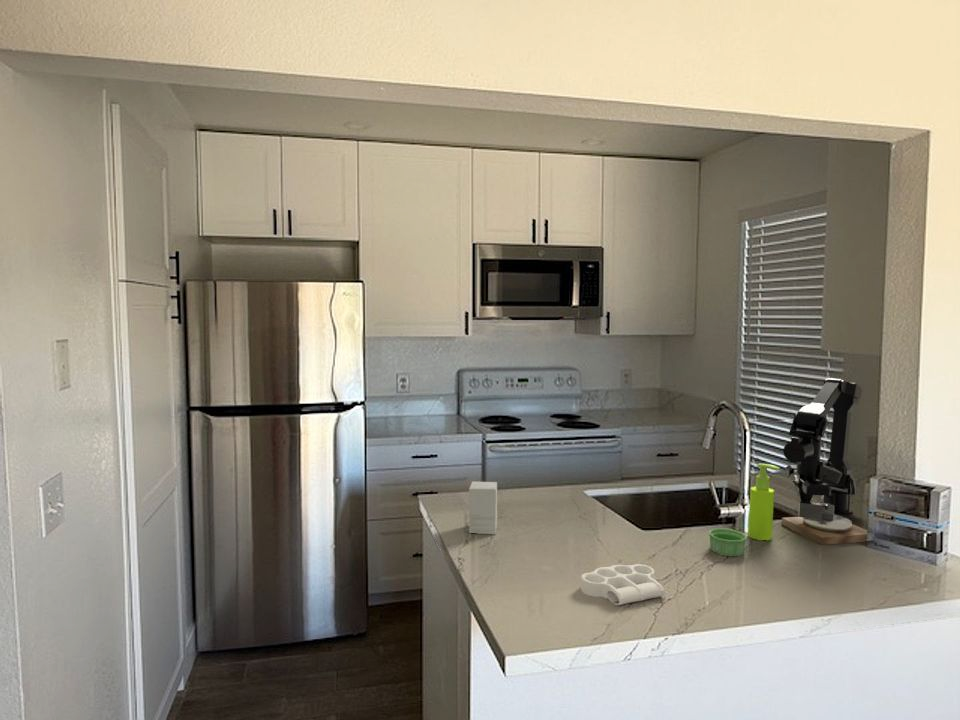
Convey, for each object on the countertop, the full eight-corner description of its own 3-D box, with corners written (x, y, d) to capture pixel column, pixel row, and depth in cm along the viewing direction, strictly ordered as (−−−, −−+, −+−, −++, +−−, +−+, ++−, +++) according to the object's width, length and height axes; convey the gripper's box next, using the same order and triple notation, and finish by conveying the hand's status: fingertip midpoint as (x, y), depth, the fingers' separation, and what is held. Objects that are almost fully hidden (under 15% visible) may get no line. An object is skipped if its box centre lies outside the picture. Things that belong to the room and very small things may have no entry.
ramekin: (749, 559, 163) (749, 542, 163) (710, 556, 165) (711, 538, 164) (742, 546, 172) (743, 529, 171) (706, 543, 174) (706, 527, 173)
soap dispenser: (772, 543, 174) (776, 468, 172) (745, 537, 178) (749, 464, 176) (778, 537, 179) (782, 464, 177) (751, 531, 183) (755, 460, 181)
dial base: (830, 521, 192) (830, 513, 192) (873, 540, 176) (874, 532, 176) (781, 524, 189) (782, 517, 188) (821, 544, 173) (822, 536, 173)
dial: (847, 520, 186) (848, 501, 185) (854, 534, 175) (856, 514, 174) (796, 514, 190) (797, 496, 190) (800, 527, 179) (801, 508, 179)
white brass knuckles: (606, 612, 135) (569, 584, 148) (676, 598, 142) (635, 571, 155) (606, 596, 135) (569, 569, 148) (677, 582, 142) (636, 558, 155)
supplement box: (497, 525, 185) (498, 481, 184) (495, 535, 177) (496, 489, 176) (471, 524, 185) (471, 480, 184) (468, 533, 178) (468, 488, 177)
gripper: (853, 466, 174) (849, 522, 176) (826, 447, 192) (822, 498, 194) (809, 465, 175) (805, 521, 178) (786, 445, 194) (782, 496, 196)
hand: (805, 508), depth 186 cm, fingers closed
